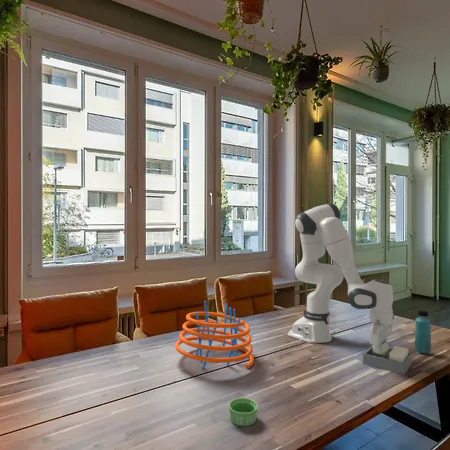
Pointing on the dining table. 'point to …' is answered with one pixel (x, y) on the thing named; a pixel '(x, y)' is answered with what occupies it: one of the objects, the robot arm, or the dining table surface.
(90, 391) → the dining table surface
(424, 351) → the beverage bottle
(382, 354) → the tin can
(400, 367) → the tote
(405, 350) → the cream rectangular block
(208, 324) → the orange spiral coil rods
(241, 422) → the ramekin
